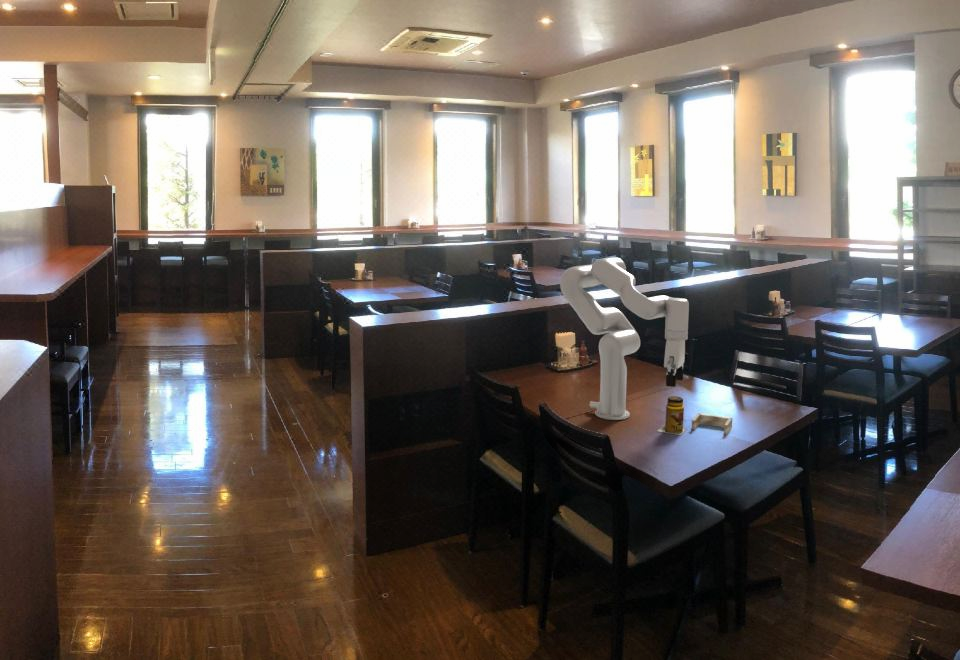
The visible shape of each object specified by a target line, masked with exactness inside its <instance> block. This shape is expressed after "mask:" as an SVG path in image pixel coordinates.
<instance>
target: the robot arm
mask: <svg viewBox="0 0 960 660" xmlns="http://www.w3.org/2000/svg"><path fill="white" fill-rule="evenodd" d="M636 281H637V280H636V277H635V276H634V275H633V274H631V273H629V272H628V271H627V266H626V264H625V262H624V261H623V260H622V259H621V258H620V257H617V256H612V257H611V256H609V257H604V258H599V259H597V260H595V261H593V263H590V264H585V265H576V266H575V265H574V266H571V267H569V268H567V269H565V271H563V273H562V274H561V276H560V281H559V286H560V291H561V293H562V296H563V298H564V299H565V300H566V301H567V303H568V304H569V305H570V306H571V307H572V309H573V310H574V311H575V312H576V314H577V316H578V317H579V319H580V320H581V321H582V323H584V325H585V327H586V328H587V329H588V331H589V332H590V333H591V334H592V335H597V336H598V335H599V336H600V335H603V336H602V337H601V338H600V339H599V342H598V351H599V352H598V353H599V359H600V383H599V384H600V387H599V388H600V389H599V390H600V391H599V401H598V402H597V401H589V407H590V408H591V409H596V410H595V411H594V412H595V416H597V417H598V418H600V419H601V420H602V419H603V420H610V421H618V420H620V421H622V420H626V419H628V418H630V411H628V410H627V408H626V405H627V404H626V403H627V402H626V401H627V378H628V377H627V375H628V374H627V373H628V369H627V368H628V367H627V364H626V361H625V356H627V355H631V354H634V353H636V352H637V351H638V350H639V349H640V347H641V339H640V338H641V337H640V336H639V333H638V332H637V331H636V329H635V327H634V326H633V324H631V322H630V321H629V320H628V319H627V317H626V316H625V315H624V313H623V312H622V311H620V309H618V308H616V307H613V306H606V307H602V306H601V305H600V304H599V303H598V302H597V300H596V298H595V297H594V296H592V295H591V294H590V293H589V292H588V291H586V290H585V288H593V287H595V286H601V285H603V286H605V287H607V288H608V289H609V290H611V292H613V293H615V294H617V296H619V298H620V300H621V302H622V304H623V305H624V307H625V308H626V309H627V310H629V311H631V312H632V313H633V314H635V315H636V316H638V317H639V318H640V319H641V318H642V319H644V320H654V319H659V318H664V317H665V328H664V339H665V340H666V342H665V349H664V358H663V359H664V360H663V361H664V362H663V367H664V368H665V369H666V375H665V376H666V377H665V386H666V387H672V388H675V387H676V386H677V385H676V384H677V381H683V380H684V364H685V359H686V358H685V357H686V355H685V354H686V341H687V340H688V335H689V331H688V330H689V313H690V306H689V305H690V303H689V300H688V299H686V298H683V297H681V298H680V297H671V296H668V295H664V294H663V295H661V294H659V295H655V296H650V297H649V296H648V297H647V296H646V295H644V294H643V293H641V292H639V291H638V290H637V289H636V288H635V286H636V283H637V282H636Z"/></svg>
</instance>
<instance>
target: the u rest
mask: <svg viewBox="0 0 960 660" xmlns="http://www.w3.org/2000/svg"><path fill="white" fill-rule="evenodd" d="M699 425H705V426H706V425H707V426H711V427H719V428H723V435H724V436H727V435H728V434H729V433H730V432H731V429H732V428H733V417H726V416H719V415H713V414H707V413H706V414H705V413H699V412H698V413H697V414H696V415H695V416H694V418H692V420H691V431H696V429H697V428H698V426H699Z"/></svg>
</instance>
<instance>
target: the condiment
mask: <svg viewBox="0 0 960 660" xmlns="http://www.w3.org/2000/svg"><path fill="white" fill-rule="evenodd" d="M666 403H667V404H666V407H665V424H662V425H661V426H660V428H659V429H658V430H656V432H660V433H666V434H670V435H671V434H672V435H677V436H681V435H683V434H684V432H685V431H686V430H687V428H684V414H685V413H684V412H685V406H684V399H683V398H682V397H681V396H669V397H668V398H667V402H666ZM664 430H665V432H664Z"/></svg>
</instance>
